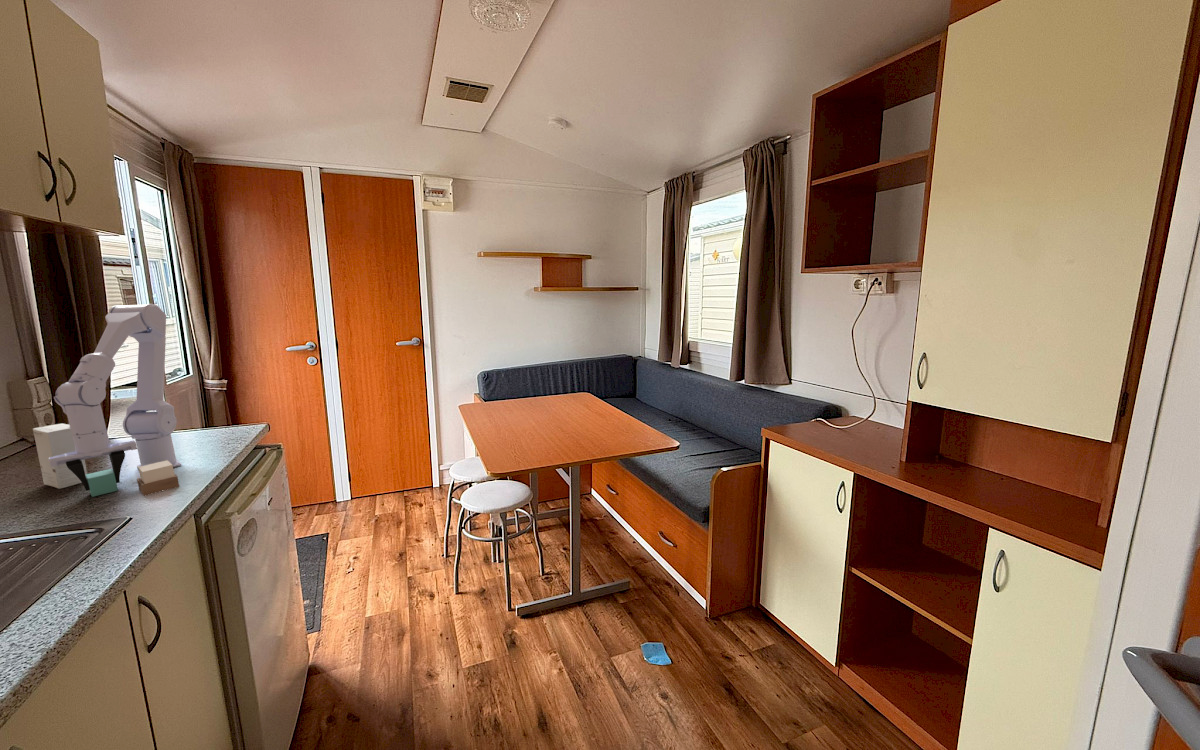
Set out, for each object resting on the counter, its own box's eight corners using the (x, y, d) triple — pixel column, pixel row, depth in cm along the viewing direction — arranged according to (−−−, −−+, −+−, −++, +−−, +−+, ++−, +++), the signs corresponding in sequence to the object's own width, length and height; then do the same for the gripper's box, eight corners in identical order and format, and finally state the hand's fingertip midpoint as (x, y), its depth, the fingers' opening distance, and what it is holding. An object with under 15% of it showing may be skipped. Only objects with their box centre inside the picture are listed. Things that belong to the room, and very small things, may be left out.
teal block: (89, 492, 119) (85, 474, 118) (115, 485, 122) (111, 468, 121) (91, 496, 116) (87, 478, 115) (118, 490, 119) (114, 472, 118)
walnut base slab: (139, 490, 120) (136, 478, 120) (173, 481, 125) (171, 470, 125) (144, 497, 116) (141, 485, 116) (179, 487, 121) (177, 476, 121)
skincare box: (43, 485, 125) (28, 428, 122) (75, 476, 130) (62, 422, 128) (60, 489, 122) (45, 431, 119) (92, 480, 127) (78, 424, 124)
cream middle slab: (140, 478, 120) (138, 466, 119) (169, 471, 124) (167, 460, 123) (144, 483, 116) (142, 471, 116) (174, 476, 121) (172, 464, 120)
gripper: (44, 443, 108) (59, 500, 111) (133, 426, 119) (145, 479, 122) (42, 437, 113) (57, 493, 115) (129, 422, 124) (140, 473, 126)
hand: (102, 485), depth 119 cm, fingers closed on teal block, 4 cm apart
